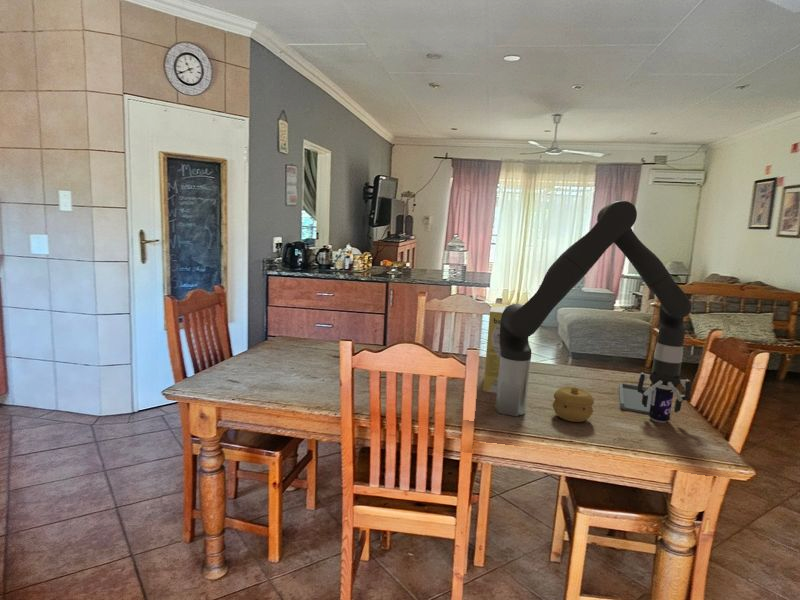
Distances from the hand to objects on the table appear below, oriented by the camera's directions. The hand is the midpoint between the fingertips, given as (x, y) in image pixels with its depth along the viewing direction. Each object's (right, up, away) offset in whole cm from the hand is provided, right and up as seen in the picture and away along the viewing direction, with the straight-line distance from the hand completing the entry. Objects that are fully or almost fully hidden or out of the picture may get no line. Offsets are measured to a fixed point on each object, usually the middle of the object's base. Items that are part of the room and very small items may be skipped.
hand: (660, 409), depth 156 cm
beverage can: (0, -4, +1) cm, 4 cm away
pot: (-28, -3, -2) cm, 28 cm away
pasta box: (-45, +3, +26) cm, 52 cm away
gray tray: (+2, -1, +17) cm, 17 cm away
